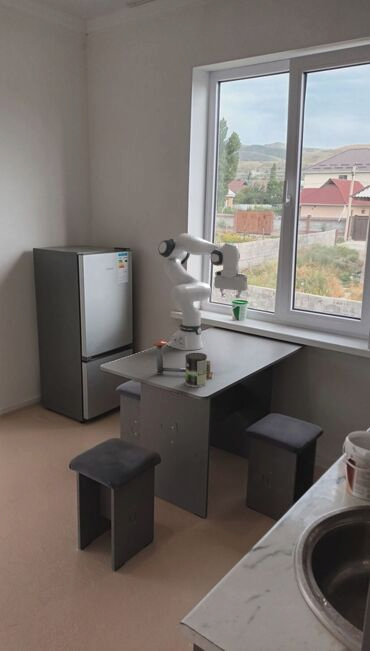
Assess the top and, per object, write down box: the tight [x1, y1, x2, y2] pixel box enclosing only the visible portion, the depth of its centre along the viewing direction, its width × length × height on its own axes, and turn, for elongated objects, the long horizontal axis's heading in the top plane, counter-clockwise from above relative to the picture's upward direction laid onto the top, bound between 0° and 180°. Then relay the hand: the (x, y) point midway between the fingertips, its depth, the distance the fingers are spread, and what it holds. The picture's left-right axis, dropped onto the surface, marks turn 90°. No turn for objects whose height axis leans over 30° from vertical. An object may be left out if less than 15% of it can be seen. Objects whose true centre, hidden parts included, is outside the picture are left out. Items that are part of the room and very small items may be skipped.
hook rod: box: [152, 339, 186, 375], centre depth 252 cm, size 22×6×17 cm, turn 82°
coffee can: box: [185, 352, 208, 388], centre depth 241 cm, size 10×10×14 cm
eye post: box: [206, 360, 214, 380], centre depth 252 cm, size 7×8×7 cm
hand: (230, 297), depth 281 cm, fingers open, 8 cm apart
